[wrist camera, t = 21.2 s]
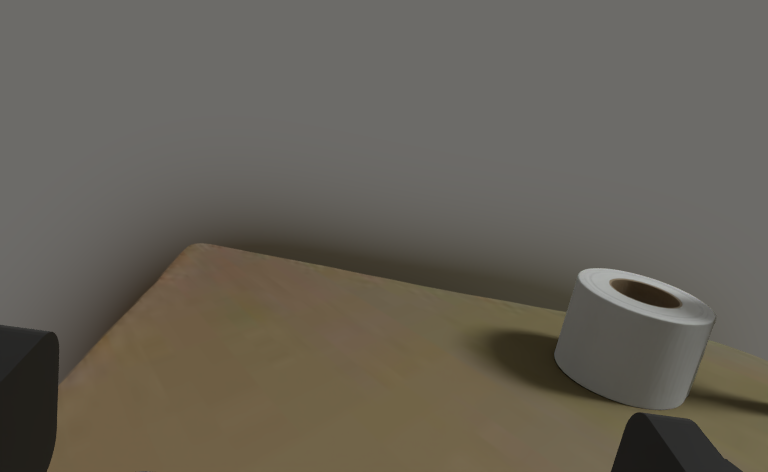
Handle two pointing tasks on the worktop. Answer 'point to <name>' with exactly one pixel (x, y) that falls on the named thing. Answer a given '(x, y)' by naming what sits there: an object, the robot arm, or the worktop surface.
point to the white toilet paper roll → (633, 338)
